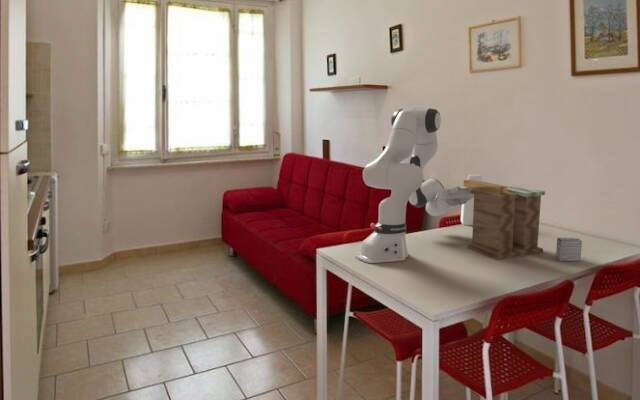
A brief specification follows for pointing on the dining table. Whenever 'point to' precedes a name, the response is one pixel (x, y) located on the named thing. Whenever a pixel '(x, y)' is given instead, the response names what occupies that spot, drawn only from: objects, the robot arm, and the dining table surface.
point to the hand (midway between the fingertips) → (467, 187)
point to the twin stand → (506, 222)
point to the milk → (469, 205)
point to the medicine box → (568, 249)
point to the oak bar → (485, 186)
